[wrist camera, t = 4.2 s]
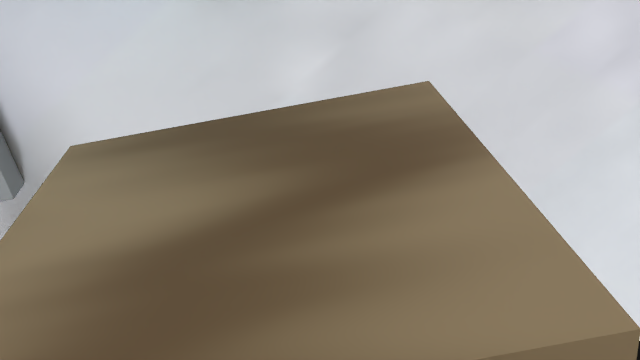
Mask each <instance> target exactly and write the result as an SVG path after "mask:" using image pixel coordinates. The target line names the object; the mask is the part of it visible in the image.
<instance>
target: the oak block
mask: <svg viewBox="0 0 640 360" xmlns="http://www.w3.org/2000/svg"><path fill="white" fill-rule="evenodd" d="M639 337H640V328H639V327H638V325H637V324H636V323H635V322H634V321H633V320H632V318H631V317H630V316H629V315H628V314H627V313H626V311H625V310H624V309H623V308H622V307H621V306H620V304H619V303H618V302H617V301H616V300H615V298H614V297H613V296H612V295H611V294H610V293H609V291H608V290H607V289H606V288H605V287H604V286H603V284H602V283H601V282H600V281H599V280H598V279H597V277H596V276H595V275H594V274H593V273H592V272H591V270H590V269H589V268H588V267H587V266H586V265H585V263H584V262H583V261H582V260H581V259H580V257H579V256H578V255H577V254H576V253H575V252H574V250H573V249H572V248H571V247H570V246H569V245H568V243H567V242H566V241H565V240H564V239H563V238H562V236H561V235H560V234H559V233H558V232H557V231H556V229H555V228H554V227H553V226H552V225H551V223H550V222H549V221H548V220H547V219H546V218H545V216H544V215H543V214H542V213H541V212H540V211H539V209H538V208H537V207H536V206H535V205H534V204H533V202H532V201H531V200H530V199H529V198H528V197H527V195H526V194H525V193H524V192H523V191H522V190H521V188H520V187H519V186H518V185H517V184H516V182H515V181H514V180H513V179H512V178H511V177H510V175H509V174H508V173H507V172H506V171H505V170H504V168H503V167H502V166H501V165H500V164H499V163H498V161H497V160H496V159H495V158H494V157H493V156H492V154H491V153H490V152H489V151H488V150H487V149H486V147H485V146H484V145H483V144H482V143H481V141H480V140H479V139H478V138H477V137H476V136H475V134H474V133H473V132H472V131H471V130H470V129H469V127H468V126H467V125H466V124H465V123H464V122H463V120H462V119H461V118H460V117H459V116H458V115H457V113H456V112H455V111H454V110H453V109H452V108H451V106H450V105H449V104H448V103H447V102H446V100H445V99H444V98H443V97H442V96H441V95H440V93H439V92H438V91H437V90H436V89H435V88H434V86H433V85H432V84H431V83H430V82H429V81H426V82H421V83H415V84H410V85H404V86H399V87H393V88H388V89H382V90H377V91H371V92H366V93H360V94H355V95H349V96H344V97H338V98H333V99H327V100H321V101H316V102H310V103H305V104H299V105H294V106H288V107H283V108H277V109H272V110H266V111H261V112H255V113H250V114H244V115H239V116H233V117H228V118H222V119H217V120H211V121H206V122H200V123H195V124H189V125H184V126H178V127H173V128H167V129H162V130H156V131H151V132H145V133H140V134H134V135H129V136H123V137H118V138H112V139H107V140H101V141H96V142H90V143H85V144H79V145H74V146H70V147H69V149H68V150H67V152H66V153H65V154H64V156H63V157H62V158H61V160H60V161H59V162H58V164H57V165H56V166H55V168H54V169H53V170H52V172H51V173H50V174H49V176H48V177H47V179H46V180H45V181H44V183H43V184H42V185H41V187H40V188H39V189H38V191H37V192H36V193H35V195H34V196H33V197H32V199H31V200H30V201H29V203H28V204H27V206H26V207H25V208H24V210H23V211H22V212H21V214H20V215H19V216H18V218H17V219H16V220H15V222H14V223H13V224H12V226H11V227H10V229H9V230H8V231H7V233H6V234H5V235H4V237H3V238H2V239H1V241H0V360H637V352H638V345H639Z"/></svg>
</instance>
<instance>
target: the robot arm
mask: <svg viewBox="0 0 640 360" xmlns="http://www.w3.org/2000/svg"><path fill="white" fill-rule="evenodd" d="M637 360H640V341H639V345H638V352H637Z"/></svg>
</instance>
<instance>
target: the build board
mask: <svg viewBox="0 0 640 360" xmlns="http://www.w3.org/2000/svg"><path fill="white" fill-rule="evenodd" d="M23 184H24V181H23V178H22V176H21V174H20V172H19V170H18V168H17V165H16V163H15V161H14V159H13V157H12V155H11V152H10V150H9V148H8V146H7V144H6V142H5V140H4V137H3V135H2V133H1V131H0V202H1V201H6V200H11V199H14V198H15V196H16V195H17V193H18V192H19V190H20V189H21V187H22V186H23Z"/></svg>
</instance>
